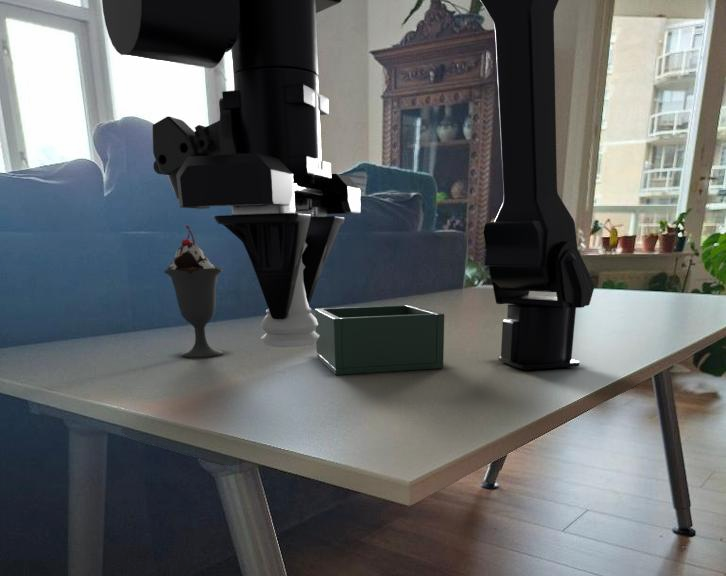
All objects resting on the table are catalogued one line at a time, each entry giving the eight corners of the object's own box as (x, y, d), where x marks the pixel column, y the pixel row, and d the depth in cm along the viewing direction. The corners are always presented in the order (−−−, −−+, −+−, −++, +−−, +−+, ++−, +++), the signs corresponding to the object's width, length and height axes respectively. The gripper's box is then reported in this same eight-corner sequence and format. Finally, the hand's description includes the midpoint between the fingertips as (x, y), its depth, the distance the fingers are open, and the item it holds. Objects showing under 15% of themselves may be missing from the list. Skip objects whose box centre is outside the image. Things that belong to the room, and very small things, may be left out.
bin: (411, 352, 81) (411, 304, 79) (443, 368, 70) (444, 313, 68) (316, 357, 78) (314, 308, 77) (335, 375, 68) (333, 318, 66)
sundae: (206, 348, 87) (194, 225, 82) (240, 353, 83) (229, 223, 78) (163, 355, 82) (147, 225, 77) (197, 360, 78) (182, 223, 73)
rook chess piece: (312, 347, 48) (307, 230, 46) (253, 347, 49) (244, 231, 46) (325, 339, 52) (321, 230, 50) (270, 339, 53) (263, 232, 50)
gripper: (232, 110, 55) (247, 304, 61) (82, 56, 39) (121, 330, 44) (360, 99, 52) (364, 304, 58) (258, 35, 35) (277, 333, 41)
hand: (289, 316), depth 50 cm, fingers closed on rook chess piece, 3 cm apart
